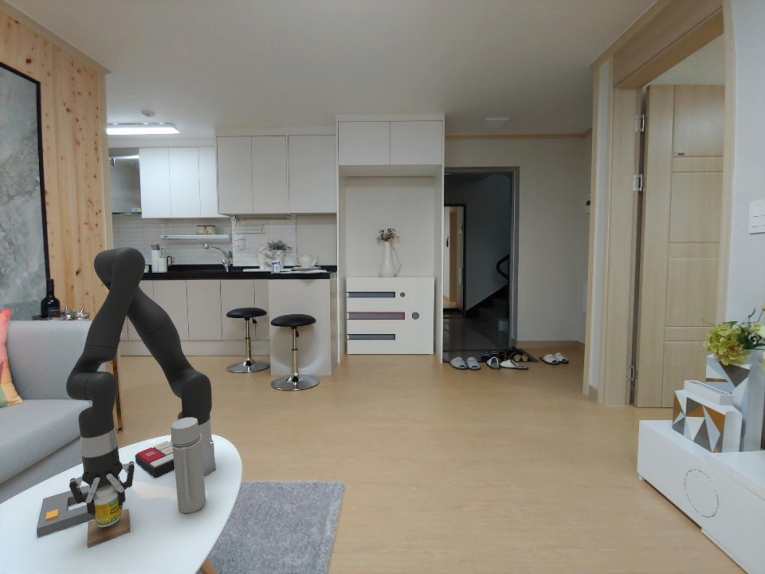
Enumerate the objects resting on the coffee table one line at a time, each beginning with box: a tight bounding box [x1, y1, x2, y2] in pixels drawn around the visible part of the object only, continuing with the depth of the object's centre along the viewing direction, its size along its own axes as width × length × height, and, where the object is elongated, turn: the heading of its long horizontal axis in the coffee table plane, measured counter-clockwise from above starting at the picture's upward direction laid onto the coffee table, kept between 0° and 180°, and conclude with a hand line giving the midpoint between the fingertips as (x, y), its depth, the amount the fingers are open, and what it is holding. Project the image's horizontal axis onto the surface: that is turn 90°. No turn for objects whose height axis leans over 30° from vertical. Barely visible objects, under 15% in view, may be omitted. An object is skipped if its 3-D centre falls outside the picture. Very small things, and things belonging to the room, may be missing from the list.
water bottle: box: [169, 417, 207, 514], centre depth 109 cm, size 9×8×25 cm
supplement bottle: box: [93, 484, 122, 527], centre depth 103 cm, size 5×5×10 cm
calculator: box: [134, 440, 175, 479], centre depth 133 cm, size 11×4×15 cm
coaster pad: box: [86, 507, 132, 549], centre depth 104 cm, size 9×9×1 cm
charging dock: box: [36, 475, 123, 538], centre depth 111 cm, size 18×14×3 cm
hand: (107, 508), depth 103 cm, fingers closed on supplement bottle, 5 cm apart
